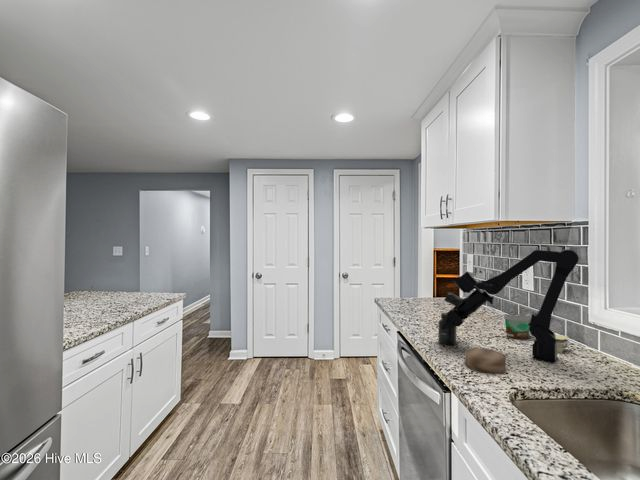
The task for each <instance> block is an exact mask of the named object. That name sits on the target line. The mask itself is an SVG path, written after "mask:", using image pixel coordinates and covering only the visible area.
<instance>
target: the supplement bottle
mask: <svg viewBox="0 0 640 480" xmlns="http://www.w3.org/2000/svg"><path fill="white" fill-rule="evenodd" d="M447 313H448V312H442V313H441V316H440V317H441V319H440V320H438V328H437V329H438V336H437V337H438V338H437V339H438V340H437V342H438V343H439V344H440V345H442V346H445V347H448V346H449V347H452V346H455V345H457V327H458V326H456V327H451V328H448V329H444V330H442V329H441V326H442V325H443V324H444V322H445V321H446V320H447V318H448V317H447Z"/></svg>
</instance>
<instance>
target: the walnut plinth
mask: <svg viewBox="0 0 640 480" xmlns="http://www.w3.org/2000/svg"><path fill="white" fill-rule="evenodd" d="M464 353H465V355H464V357H465V360H464V361H465V363H464V364H465V365H466V367H467V368H469V369H471V370H473V371H476V372H479V373H485V374H501V373H504V372H506V369H507V367H506V363H507V362H506V359H507V358H506V357H507V356H506V355H505V354H504V353H503V352H500V351H497V350H494V349H488V348H481V347H480V348H479V347H475V348H468V349H466V350H465V352H464Z"/></svg>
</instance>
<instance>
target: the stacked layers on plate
mask: <svg viewBox="0 0 640 480" xmlns="http://www.w3.org/2000/svg"><path fill="white" fill-rule="evenodd" d="M555 337H556V342H557V354H563V353H564V350H565V349H567V348H569V345H568V343H569V341H570V340H569V338H570V337H569V336H568V335H562V334H561V335H560V334H555Z"/></svg>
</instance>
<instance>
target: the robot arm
mask: <svg viewBox="0 0 640 480" xmlns="http://www.w3.org/2000/svg"><path fill="white" fill-rule="evenodd" d="M579 258H580V257H579V255H578V254H577V252H576V251H574V250H572V249H562V250H560V251H556V250H542V249H534V250H533V251H531V253H529V254H528V255H527V256H525V257H524V258H522V259H521V260H519V261H518V262H515V264H513V265H512V266H510V267H509V268H507V269H506V270H505V271H503V272H501V273H499V274H496V275H495V276H492V277H490V278H487V279H486V280H479V281H478V280H477V279H475V278H474V277H473V276H472V274H471V273H470V272H469V271H465V272H464V273H463V274H462V275H461V276H459V277H458V278H456V279H455V280H454V281H453V283H454V284H455V285H456V286H457V288H458V289H460V290H461V291H462V292H463V293H464V294H465V293H467V294H469V295H468V296H467V297H464V298H462V297H460V296H458V295H456V294H454V293H452V292H447V294H446V296H445V298H444V301H445V302H447V303H449V304H451V305H453V306H454V307H453V308H451V309H450V310H449V311H447V312H446V313H447V317H448V318H447V320H446V321H445V322H444V324H443V325H442V326H441V329H442V330H444V329H448V328H451V327H456V326H457V327H460V326H461V325H463V324H464V322H465V320H467V318H469V317H470V316H471V315H473V313H476V312H477V310H478V309H480V308H481V307H482V306H483V305H484V304H486V303H487V302H488V303H489V304H490V305H493V304H494V303H495V301H494V299H495V296H494V295H497V294H499V293H500V292H501V291H502V290H503V289H504V288H505V286H507V285H508V284H509V283H510V282H511V280H513V279H515V278H516V277H518V276H519V275H521V274H522V273H524V272H525V271H526V270H528V269H529V268H531V267H533V266H534V265H536V264H537V263H538V262H549V263H554V264H555V265H554V271H553V274H552V277H551V280H550V282H549V285H548V288H547V290H546V292H545V295H544V297H543V300H542V302H541V305H540V307H539V309H538V311H537V312H534V311H531V319H530V320H529V321H528V326H529V334H531V336H532V337H533V338H535V339H534V341H533V343H532V347H531V348H532V353H531V354H532V359H533V360H537V361H543V362H545V363H546V362H547V363H551V364H556V362H557V361H559V360H560V359H559V357H558V353H557V342H556V337H555V335H556V334H555V333H554V332H553V331H552V330H551V329H550V327H551V321H552V314H553V312H554V310H555V308H556V305H557V303H558V299H559V298H560V294H561V292H562V289H563V287H564V285H565V282H566V281H567V278H568V276H569V275H570V274H571V272H572V271H573V270H574V268H575V267H576V266H577V264H578V262H579ZM474 289H475V290H474ZM473 290H474V291H473ZM471 292H472V293H471ZM492 295H493V296H492Z"/></svg>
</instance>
